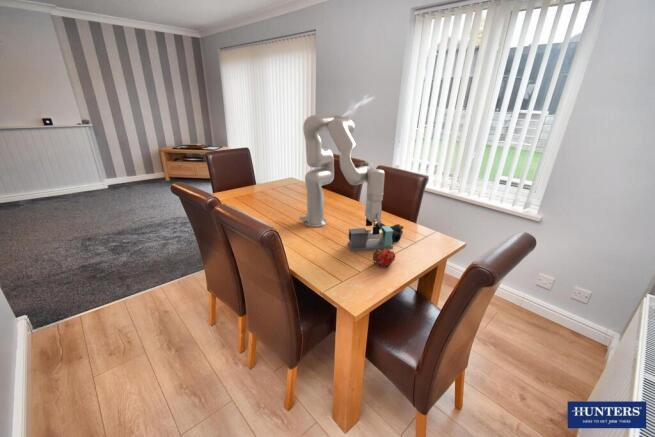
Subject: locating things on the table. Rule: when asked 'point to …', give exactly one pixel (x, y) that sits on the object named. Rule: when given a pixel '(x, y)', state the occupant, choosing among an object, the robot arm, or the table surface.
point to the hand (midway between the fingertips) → (372, 229)
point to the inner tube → (371, 236)
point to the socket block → (386, 235)
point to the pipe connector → (395, 232)
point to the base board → (370, 246)
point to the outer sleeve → (358, 237)
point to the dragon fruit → (383, 257)
